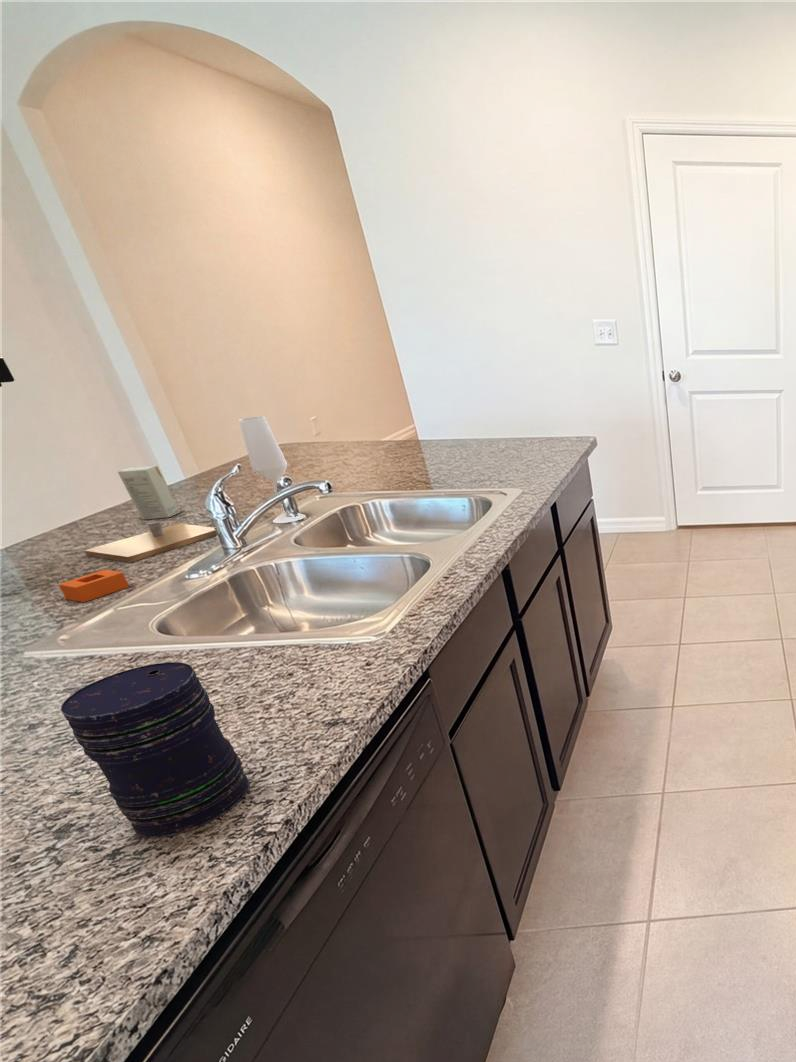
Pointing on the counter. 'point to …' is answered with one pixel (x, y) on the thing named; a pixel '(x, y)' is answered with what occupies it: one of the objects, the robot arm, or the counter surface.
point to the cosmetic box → (149, 492)
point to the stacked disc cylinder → (158, 747)
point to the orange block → (94, 585)
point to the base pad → (152, 542)
